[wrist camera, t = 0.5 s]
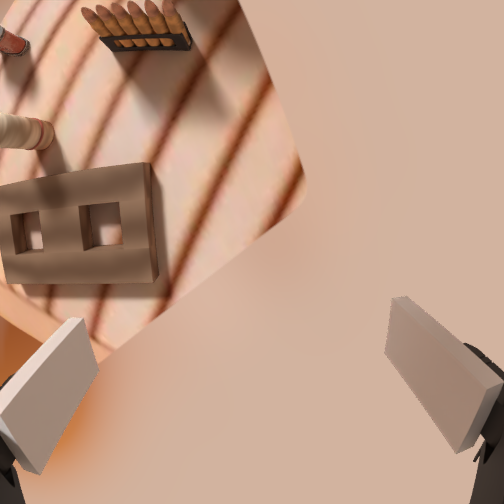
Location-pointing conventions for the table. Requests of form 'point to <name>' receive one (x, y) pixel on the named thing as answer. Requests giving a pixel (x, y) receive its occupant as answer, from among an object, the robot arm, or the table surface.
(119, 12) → the ammunition clip
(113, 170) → the walnut board
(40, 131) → the birch dowel
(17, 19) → the table surface
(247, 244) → the table surface
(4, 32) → the lighter
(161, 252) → the table surface
